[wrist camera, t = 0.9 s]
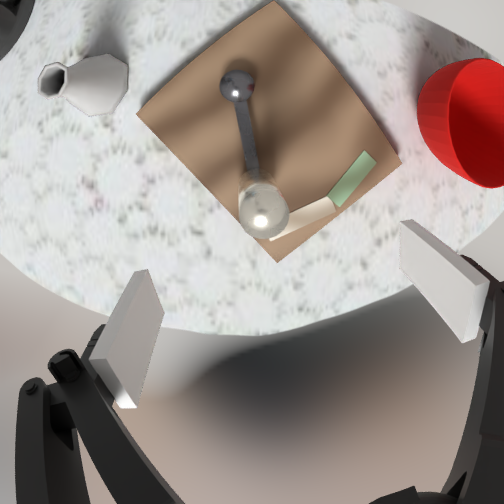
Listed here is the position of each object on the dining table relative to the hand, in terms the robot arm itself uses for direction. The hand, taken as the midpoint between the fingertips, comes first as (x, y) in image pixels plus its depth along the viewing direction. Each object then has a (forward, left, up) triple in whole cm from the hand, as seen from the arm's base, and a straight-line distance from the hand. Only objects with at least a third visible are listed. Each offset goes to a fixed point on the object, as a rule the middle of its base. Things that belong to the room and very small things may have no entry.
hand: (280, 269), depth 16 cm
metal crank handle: (-3, +2, -18) cm, 18 cm away
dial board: (-3, +5, -19) cm, 20 cm away
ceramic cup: (+9, +23, -20) cm, 32 cm away
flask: (-20, -5, -20) cm, 28 cm away
